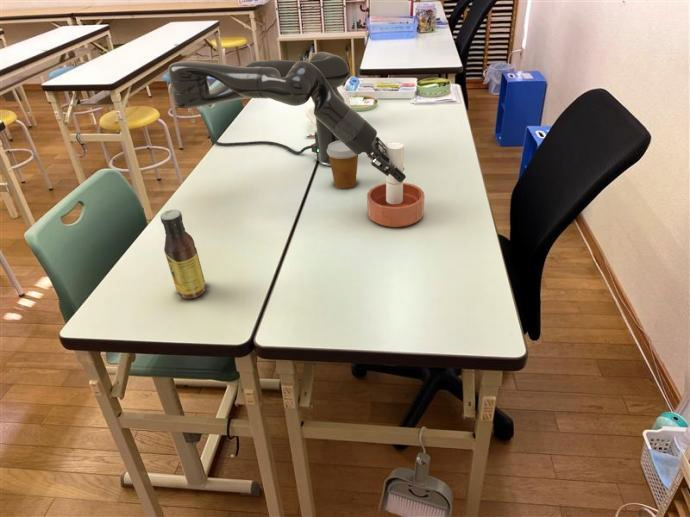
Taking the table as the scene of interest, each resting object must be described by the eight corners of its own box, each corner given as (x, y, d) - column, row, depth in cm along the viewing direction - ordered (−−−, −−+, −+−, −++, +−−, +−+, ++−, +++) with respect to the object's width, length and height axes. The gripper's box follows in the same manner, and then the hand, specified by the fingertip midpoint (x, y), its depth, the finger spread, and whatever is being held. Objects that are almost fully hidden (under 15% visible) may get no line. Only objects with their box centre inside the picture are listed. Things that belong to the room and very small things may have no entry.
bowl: (356, 218, 137) (355, 198, 133) (389, 197, 146) (388, 177, 142) (402, 235, 129) (403, 213, 125) (433, 211, 138) (434, 191, 134)
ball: (352, 98, 201) (340, 50, 180) (359, 150, 190) (346, 106, 169) (309, 107, 203) (291, 61, 182) (313, 159, 192) (295, 116, 171)
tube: (401, 204, 133) (402, 149, 124) (385, 203, 133) (385, 148, 125) (403, 196, 136) (404, 142, 128) (387, 196, 137) (387, 141, 128)
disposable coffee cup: (366, 179, 156) (364, 141, 149) (353, 193, 149) (351, 153, 142) (337, 175, 159) (335, 137, 153) (323, 188, 152) (320, 149, 146)
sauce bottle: (180, 284, 116) (158, 206, 105) (208, 282, 116) (189, 203, 105) (175, 302, 111) (150, 222, 100) (204, 300, 111) (183, 219, 100)
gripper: (343, 131, 132) (390, 173, 138) (341, 153, 120) (393, 198, 126) (363, 109, 129) (411, 154, 135) (364, 130, 117) (416, 177, 123)
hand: (402, 175), depth 131 cm, fingers closed on tube, 4 cm apart
